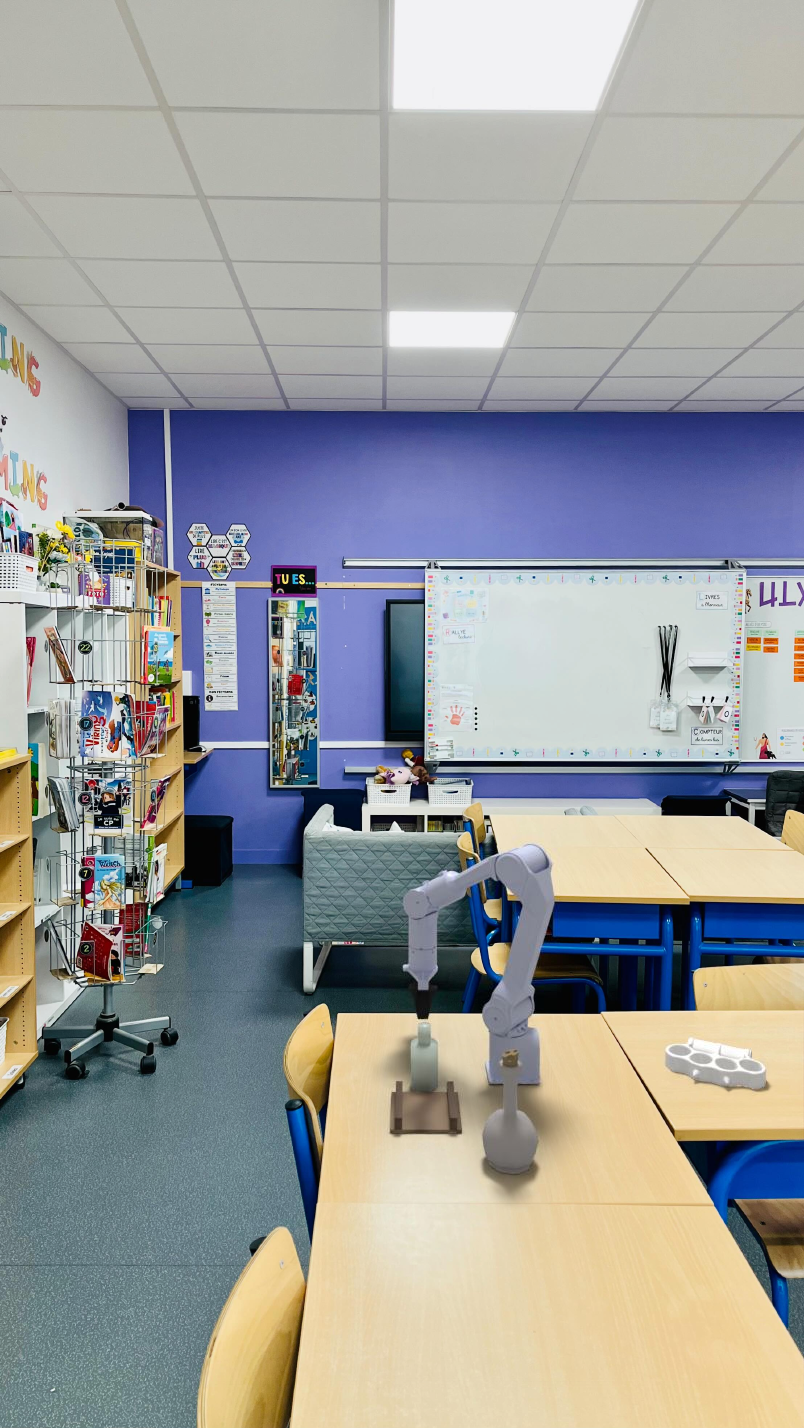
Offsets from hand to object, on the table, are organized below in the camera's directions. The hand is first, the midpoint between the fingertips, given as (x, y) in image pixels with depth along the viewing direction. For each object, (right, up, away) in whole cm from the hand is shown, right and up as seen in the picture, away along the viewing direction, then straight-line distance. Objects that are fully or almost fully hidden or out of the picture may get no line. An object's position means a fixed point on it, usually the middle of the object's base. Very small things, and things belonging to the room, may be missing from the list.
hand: (422, 1010), depth 170 cm
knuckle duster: (+56, -9, -10) cm, 58 cm away
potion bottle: (+13, -10, -39) cm, 42 cm away
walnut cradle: (0, -9, -25) cm, 27 cm away
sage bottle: (0, -8, -16) cm, 18 cm away
